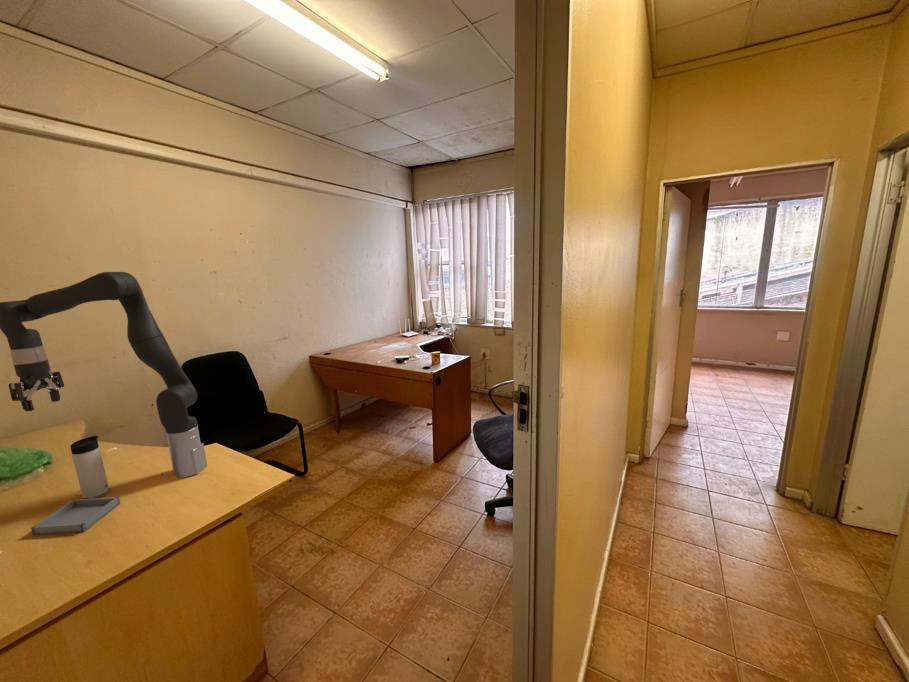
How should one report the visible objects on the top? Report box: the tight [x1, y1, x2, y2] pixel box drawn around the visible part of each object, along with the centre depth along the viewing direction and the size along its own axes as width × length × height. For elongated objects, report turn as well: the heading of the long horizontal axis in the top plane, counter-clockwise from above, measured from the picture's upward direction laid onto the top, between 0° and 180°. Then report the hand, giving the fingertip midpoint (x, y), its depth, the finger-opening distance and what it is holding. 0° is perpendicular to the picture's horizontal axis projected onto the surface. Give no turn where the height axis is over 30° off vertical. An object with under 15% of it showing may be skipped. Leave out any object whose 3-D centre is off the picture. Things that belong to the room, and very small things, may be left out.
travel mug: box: [70, 435, 110, 499], centre depth 116 cm, size 6×7×20 cm
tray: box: [30, 496, 121, 536], centre depth 106 cm, size 13×12×2 cm
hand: (43, 405), depth 121 cm, fingers open, 8 cm apart
